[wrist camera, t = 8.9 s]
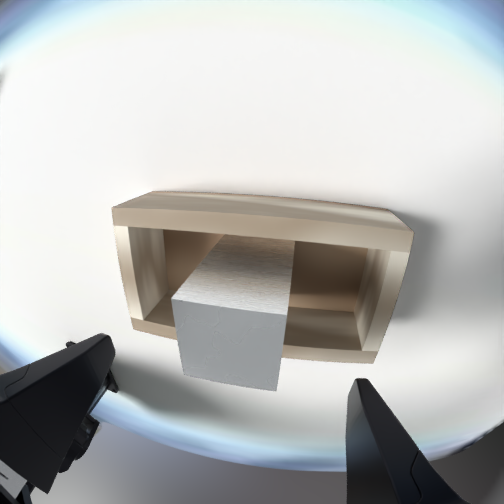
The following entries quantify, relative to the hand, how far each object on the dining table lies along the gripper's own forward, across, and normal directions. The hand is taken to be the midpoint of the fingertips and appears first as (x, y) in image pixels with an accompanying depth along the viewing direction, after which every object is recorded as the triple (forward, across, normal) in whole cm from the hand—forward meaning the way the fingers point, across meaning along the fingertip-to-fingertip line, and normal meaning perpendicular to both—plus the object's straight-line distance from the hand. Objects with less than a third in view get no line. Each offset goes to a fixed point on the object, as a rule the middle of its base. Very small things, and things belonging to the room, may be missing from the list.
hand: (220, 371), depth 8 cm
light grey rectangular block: (+9, 0, 0) cm, 9 cm away
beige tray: (+10, 0, 0) cm, 10 cm away
